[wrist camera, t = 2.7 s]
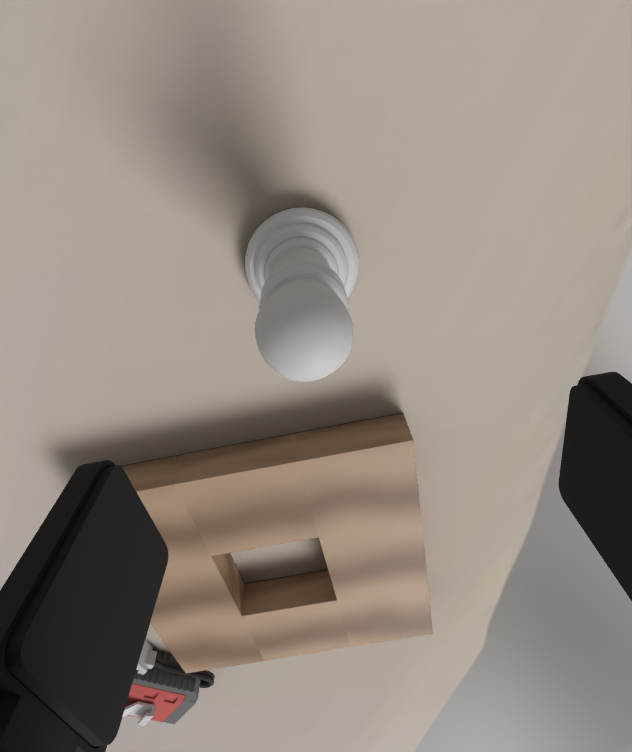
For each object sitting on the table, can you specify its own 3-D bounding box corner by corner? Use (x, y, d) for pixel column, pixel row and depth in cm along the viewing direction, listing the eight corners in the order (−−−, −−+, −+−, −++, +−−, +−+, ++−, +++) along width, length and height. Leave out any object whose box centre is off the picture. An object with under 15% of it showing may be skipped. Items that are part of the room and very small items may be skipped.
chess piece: (276, 331, 23) (271, 444, 15) (224, 235, 20) (186, 314, 13) (373, 289, 22) (418, 387, 14) (331, 184, 19) (360, 235, 12)
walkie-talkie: (228, 651, 39) (-12, 587, 33) (222, 708, 36) (-50, 649, 29) (186, 694, 43) (-38, 644, 37) (177, 750, 39) (-75, 705, 33)
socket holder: (82, 473, 27) (64, 504, 25) (403, 412, 26) (413, 440, 24) (191, 641, 38) (185, 673, 35) (424, 603, 36) (432, 633, 34)
